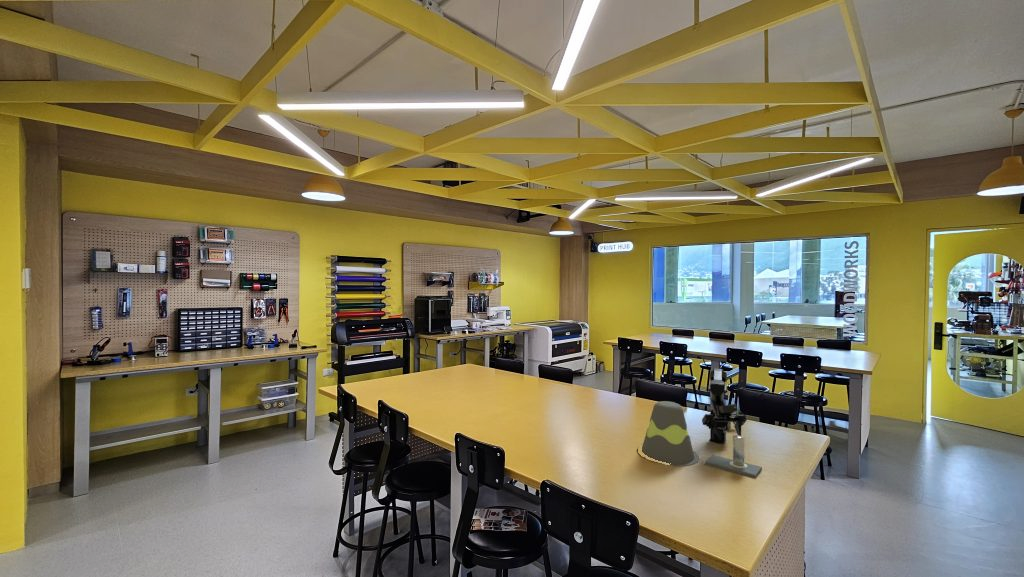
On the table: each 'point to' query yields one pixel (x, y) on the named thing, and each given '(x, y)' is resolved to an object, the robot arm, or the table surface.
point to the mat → (733, 466)
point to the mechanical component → (731, 417)
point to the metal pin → (738, 450)
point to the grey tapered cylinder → (669, 436)
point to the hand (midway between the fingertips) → (730, 437)
